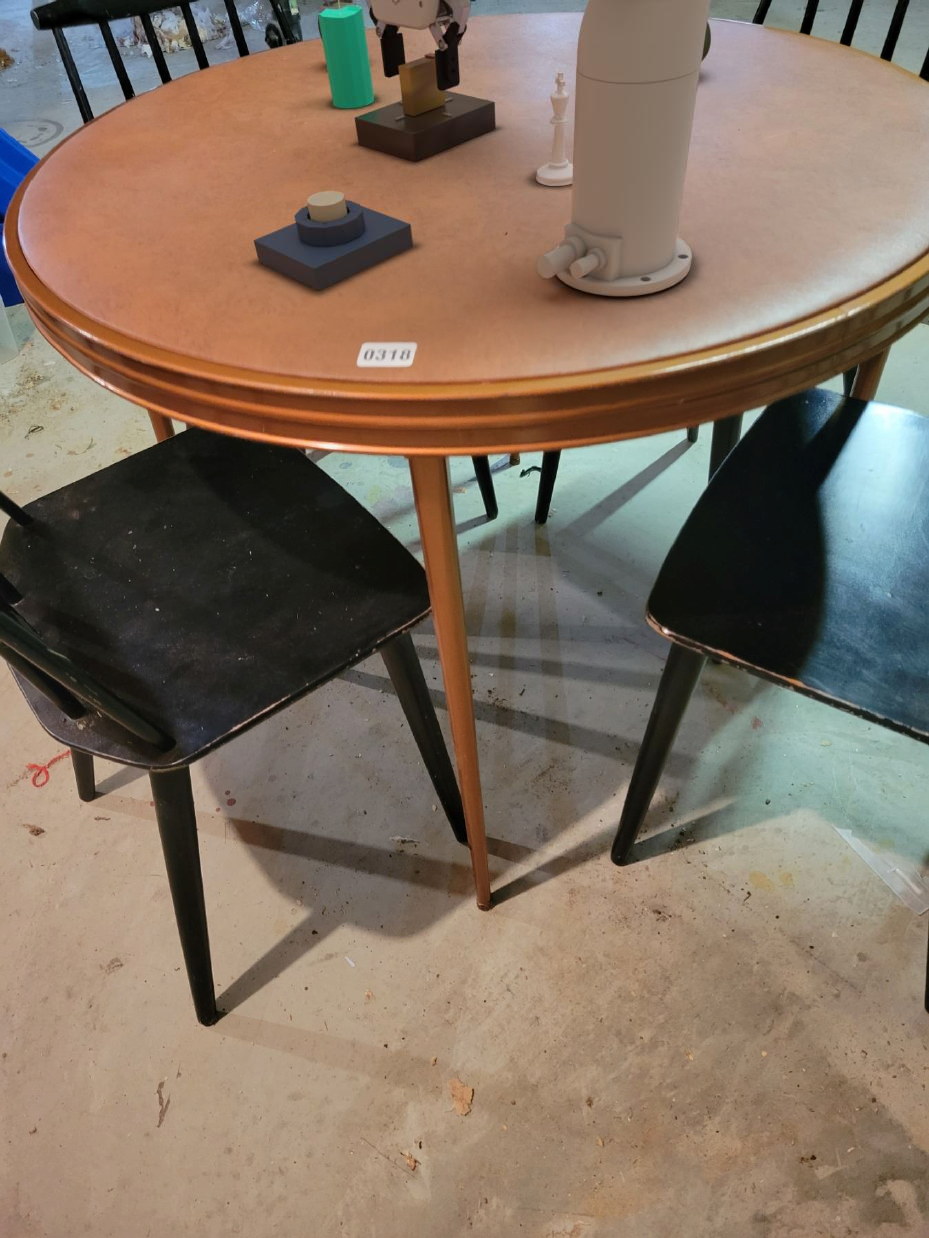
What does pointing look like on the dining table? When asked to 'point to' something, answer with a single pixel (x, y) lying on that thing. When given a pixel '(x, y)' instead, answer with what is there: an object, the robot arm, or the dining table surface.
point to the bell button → (327, 206)
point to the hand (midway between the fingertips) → (421, 81)
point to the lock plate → (425, 126)
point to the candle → (347, 56)
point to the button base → (333, 245)
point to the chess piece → (557, 142)
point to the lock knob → (420, 86)
